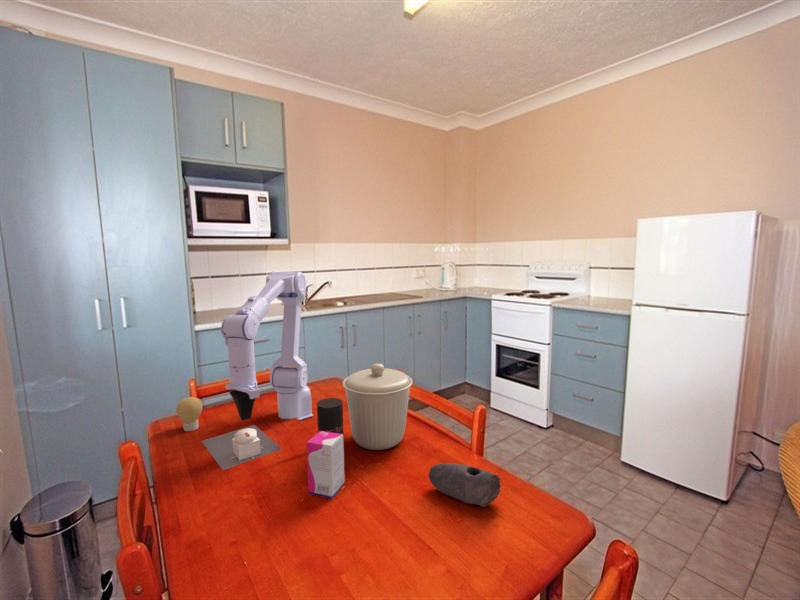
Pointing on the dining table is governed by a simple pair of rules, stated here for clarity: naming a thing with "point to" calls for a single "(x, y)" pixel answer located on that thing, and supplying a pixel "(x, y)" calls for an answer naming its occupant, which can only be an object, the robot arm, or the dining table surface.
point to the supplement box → (325, 464)
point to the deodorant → (330, 415)
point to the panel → (223, 448)
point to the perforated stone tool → (465, 483)
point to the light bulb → (189, 412)
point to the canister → (377, 406)
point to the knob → (246, 443)
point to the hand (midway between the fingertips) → (245, 418)
